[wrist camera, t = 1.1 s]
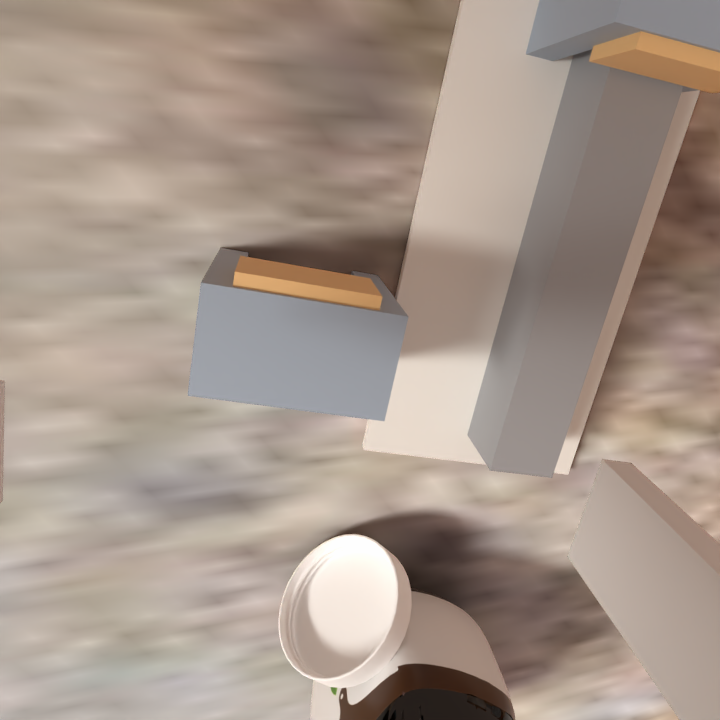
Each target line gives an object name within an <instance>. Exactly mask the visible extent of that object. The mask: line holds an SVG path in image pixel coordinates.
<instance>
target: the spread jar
mask: <svg viewBox="0 0 720 720" xmlns="http://www.w3.org/2000/svg"><path fill="white" fill-rule="evenodd" d="M278 622H279V636H280V641H281V645H282V649H283V651H284V653H285V655H286V658H287V659H288V661H289V662H290V663H291V665H292V666H293V667H294V669H296V670H297V671H298V672H300V673H301V674H302V675H303V676H306V677H308V678H310V679H312V680H314V681H313V688H312V697H311V720H515V714H514V710H513V706H512V703H511V699H510V696H509V692H508V689H507V687H506V684H505V681H504V679H503V676H502V674H501V671H500V669H499V667H498V664H497V662H496V659H495V657H494V655H493V652H492V650H491V648H490V645H489V643H488V641H487V639H486V637H485V635H484V634H483V632H482V630H481V628H480V627H479V626H478V624H477V623H476V622H475V621H474V620H473V618H472V617H471V616H470V615H469V614H468V613H466V612H465V611H464V610H462V609H461V608H459V607H457V606H456V605H454V604H453V603H451V602H449V601H448V600H446V599H444V598H442V597H440V596H437V595H435V594H432V593H429V592H425V591H422V590H418V589H413V588H410V583H409V579H408V576H407V574H406V572H405V569H404V567H403V566H402V564H401V563H400V562H399V560H398V559H397V557H395V556H394V555H393V554H392V553H391V552H389V551H388V550H387V549H386V548H384V547H383V546H382V545H381V544H379V543H378V542H377V541H375V540H373V539H371V538H369V537H367V536H363V535H358V534H346V535H341V536H337V537H334V538H332V539H329V540H327V541H325V542H323V543H322V544H320V545H319V546H318V547H316V548H315V549H313V550H312V551H311V552H310V553H309V554H308V555H307V556H306V557H305V558H304V559H303V560H302V562H301V563H300V564H299V566H298V567H297V568H296V570H295V571H294V573H293V575H292V576H291V578H290V580H289V582H288V584H287V587H286V589H285V592H284V594H283V598H282V602H281V606H280V612H279V621H278Z"/></svg>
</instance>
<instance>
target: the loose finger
mask: <svg viewBox="0 0 720 720" xmlns="http://www.w3.org/2000/svg"><path fill="white" fill-rule="evenodd" d="M248 254H249V253H248V252H242V251H237V250H231V249H225V248H220V250H219V252H218V253H217V255H216V257H215V259H214V260H213V262H212V264H211V266H210V268H209V269H208V271H207V273H206V275H205V276H204V278H203V280H202V282H201V287H200V296H199V304H198V312H197V321H196V329H195V338H194V346H193V355H192V363H191V372H190V380H189V389H188V396H194V397H202V398H209V399H217V400H225V401H232V402H240V403H248V404H255V405H263V406H271V407H278V408H286V409H294V410H301V411H309V412H317V413H324V414H332V415H340V416H347V417H355V418H363V419H370V420H378V421H385V417H386V412H387V408H388V404H389V399H390V395H391V391H392V386H393V382H394V378H395V373H396V369H397V365H398V360H399V356H400V352H401V347H402V343H403V339H404V334H405V330H406V326H407V321H408V315H407V314H406V313H405V311H404V310H403V309H402V307H401V306H400V304H399V303H398V302H397V300H396V299H395V298H394V296H393V295H392V294H391V292H390V291H389V290H388V288H387V287H386V286H385V284H384V283H383V282H382V280H381V279H380V278H379V276H378V275H373V274H368V273H362V272H356V271H352V272H351V275H349V274H343V273H337V272H331V271H326V270H320V269H314V268H308V267H303V266H297V265H291V264H285V263H280V262H274V261H268V260H262V259H257V258H251V257H248Z"/></svg>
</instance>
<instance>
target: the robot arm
mask: <svg viewBox="0 0 720 720" xmlns="http://www.w3.org/2000/svg"><path fill="white" fill-rule="evenodd" d="M4 392H5V381H2V380H0V503H1V502H2V501H3V452H4ZM567 557H568V558H569V560H570V561H571V563H572V564H573V566H574V567H575V568H576V570H577V571H578V573H579V574H580V576H581V577H582V579H583V580H584V582H585V583H586V584H587V586H588V587H589V589H590V590H591V592H592V593H593V595H594V596H595V598H596V599H597V600H598V602H599V603H600V605H601V606H602V608H603V609H604V611H605V612H606V614H607V615H608V616H609V618H610V619H611V621H612V622H613V624H614V625H615V627H616V628H617V630H618V631H619V632H620V634H621V635H622V637H623V638H624V640H625V641H626V643H627V644H628V646H629V647H630V648H631V650H632V651H633V653H634V654H635V656H636V657H637V659H638V660H639V662H640V663H641V664H642V666H643V667H644V669H645V670H646V672H647V673H648V675H649V676H650V678H651V679H652V680H653V682H654V683H655V685H656V686H657V688H658V689H659V691H660V692H661V694H662V695H663V696H664V698H665V699H666V701H667V702H668V704H669V705H670V707H671V708H672V710H673V711H674V712H675V714H676V715H677V717H678V718H679V720H720V544H719V543H718V542H717V541H716V540H715V539H714V538H713V537H711V536H710V535H709V534H708V533H707V532H706V531H705V530H704V529H703V528H702V527H701V526H699V525H698V524H697V523H696V522H695V521H694V520H693V519H692V518H691V517H690V516H689V515H687V514H686V513H685V512H684V511H683V510H682V509H681V508H680V507H679V506H678V505H677V504H675V503H674V502H673V501H672V500H671V499H670V498H669V497H668V496H667V495H666V494H665V493H663V492H662V491H661V490H660V489H659V488H658V487H657V486H656V485H655V484H654V483H652V482H651V481H650V480H649V479H648V478H647V477H646V476H645V475H644V474H643V473H642V472H640V471H639V470H638V469H637V468H636V467H635V466H634V465H633V464H632V463H627V462H620V461H612V460H605V459H602V461H601V464H600V467H599V469H598V472H597V475H596V478H595V480H594V483H593V486H592V489H591V492H590V494H589V497H588V500H587V503H586V505H585V508H584V511H583V514H582V517H581V519H580V522H579V525H578V528H577V531H576V533H575V536H574V539H573V542H572V544H571V547H570V550H569V553H568V556H567Z"/></svg>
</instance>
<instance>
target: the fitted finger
mask: <svg viewBox="0 0 720 720" xmlns="http://www.w3.org/2000/svg"><path fill="white" fill-rule="evenodd" d="M591 49H592V52H591V56H590V59H589V62H593V63H597V64H600V65H604V66H608V67H612V68H616V69H620V70H624V71H628V72H631V73H635V74H639V75H643V76H647V77H651V78H655V79H659V80H662V81H666V82H670V83H674V84H678V85H682V86H683V89H682V92H689V91H697V90H701V91H705V92H709V93H719V92H720V0H539V4H538V8H537V12H536V16H535V20H534V23H533V27H532V31H531V35H530V39H529V43H528V47H527V51H526V54H527V55H531V56H534V57H538V58H542V59H546V60H550V61H555V60H558V59H561V58H565V57H568V56H571V55H575V54H578V53H581V52H585V51H588V50H591Z"/></svg>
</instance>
